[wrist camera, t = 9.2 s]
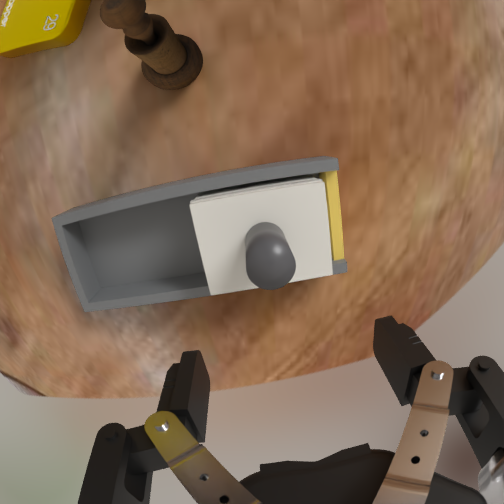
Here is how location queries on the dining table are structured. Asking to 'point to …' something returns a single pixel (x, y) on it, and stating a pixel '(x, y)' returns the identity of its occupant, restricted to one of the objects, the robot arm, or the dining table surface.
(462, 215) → the dining table surface
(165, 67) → the brown wooden tall piece
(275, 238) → the white plate with knob
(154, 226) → the bay
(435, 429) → the robot arm
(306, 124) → the dining table surface
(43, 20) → the element tile
